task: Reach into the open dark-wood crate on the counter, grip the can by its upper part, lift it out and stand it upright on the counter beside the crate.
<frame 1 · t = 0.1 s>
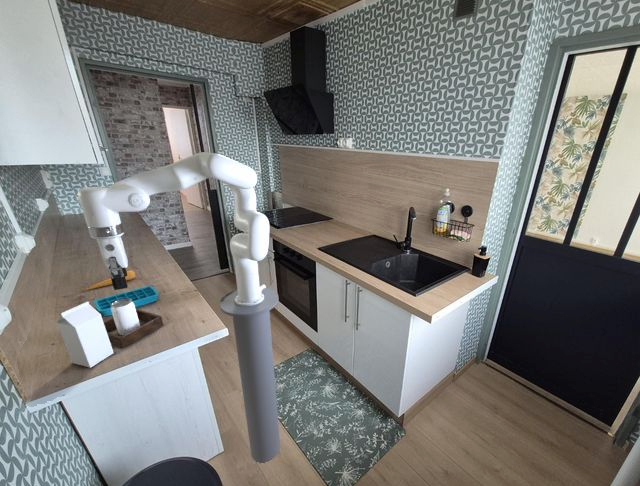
hand: (121, 282, 92), 24 cm above the table, tool pointing down, fingers open, 9 cm apart
carrot: (110, 284, 138), on the table
can: (130, 331, 107), resting in crate
milk carton: (94, 358, 93), on the table
ice cube tray: (129, 304, 123), on the table
crate: (130, 331, 107), on the table
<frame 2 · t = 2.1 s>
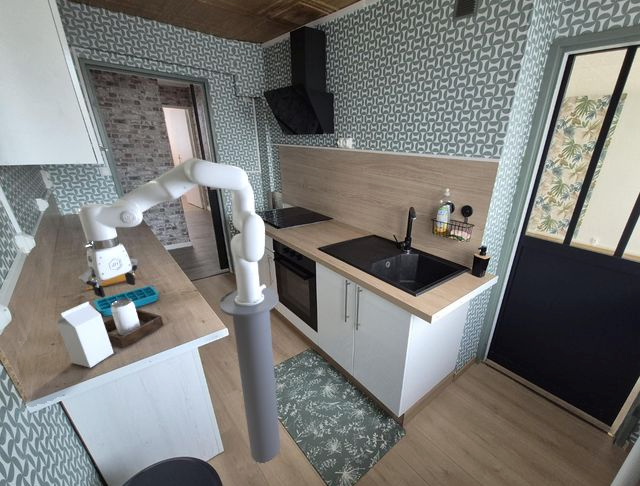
hand: (116, 290, 100), 17 cm above the table, tool pointing down, fingers open, 9 cm apart
nothing on the table moved.
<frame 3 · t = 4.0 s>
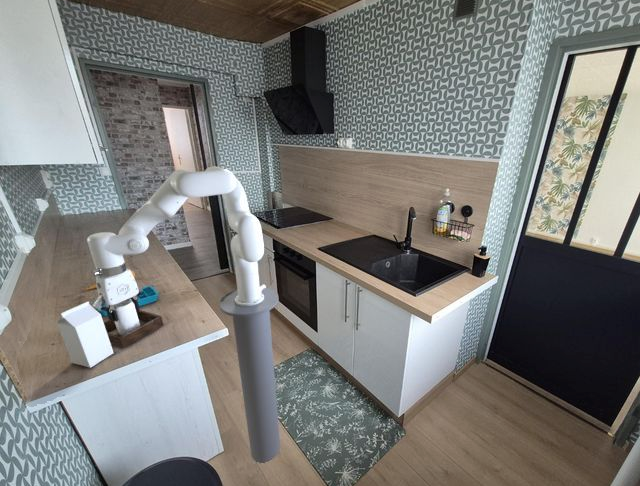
hand: (125, 314, 104), 7 cm above the table, tool pointing down, fingers closed on can, 6 cm apart
can: (130, 331, 107), resting in crate, touching gripper
everything else where it was.
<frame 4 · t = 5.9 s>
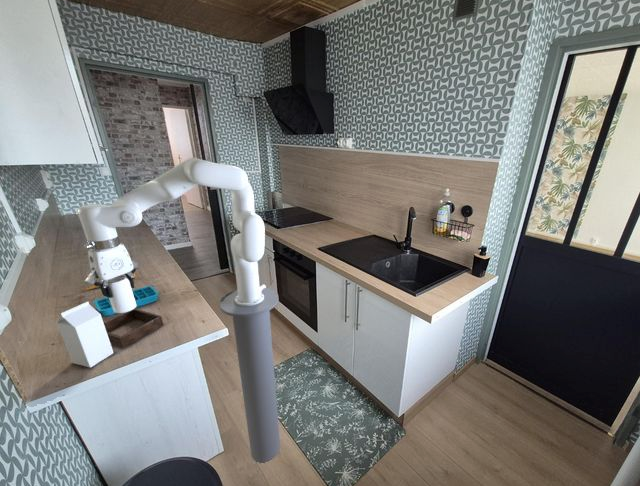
hand: (119, 291, 101), 16 cm above the table, tool pointing down, fingers closed on can, 6 cm apart
can: (125, 309, 104), point 9 cm above the table, touching gripper
everything else where it was.
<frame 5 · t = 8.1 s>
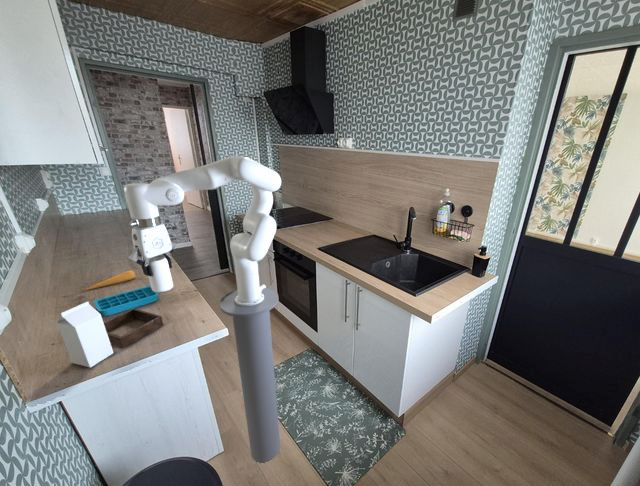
hand: (158, 270, 102), 23 cm above the table, tool pointing down, fingers closed on can, 6 cm apart
can: (163, 289, 105), point 16 cm above the table, touching gripper
everything else where it was.
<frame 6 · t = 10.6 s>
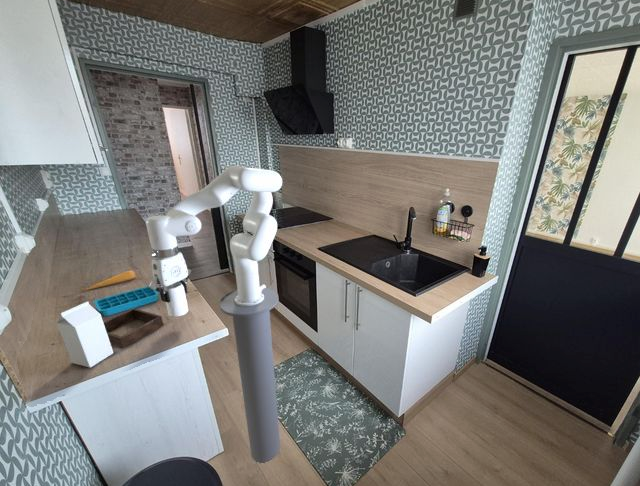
hand: (175, 296, 107), 12 cm above the table, tool pointing down, fingers closed on can, 6 cm apart
can: (178, 313, 110), point 5 cm above the table, touching gripper
everything else where it was.
when the fingers open (7 cm above the table, at t = 12.4 s): can stays where it is, on the table.
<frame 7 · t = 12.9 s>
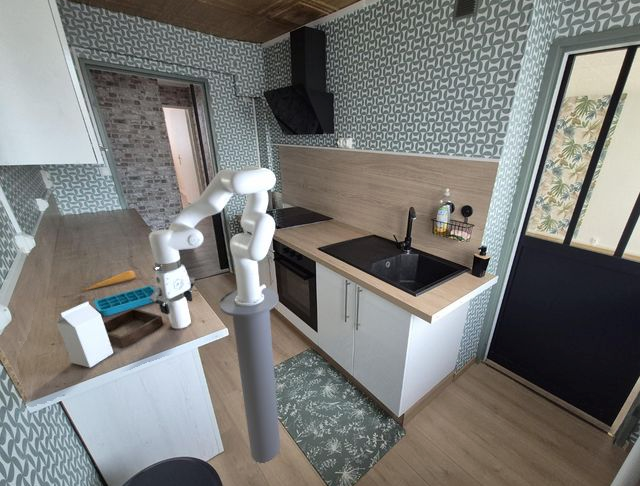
hand: (177, 306, 109), 8 cm above the table, tool pointing down, fingers open, 9 cm apart
can: (181, 324, 112), on the table
everything else where it was.
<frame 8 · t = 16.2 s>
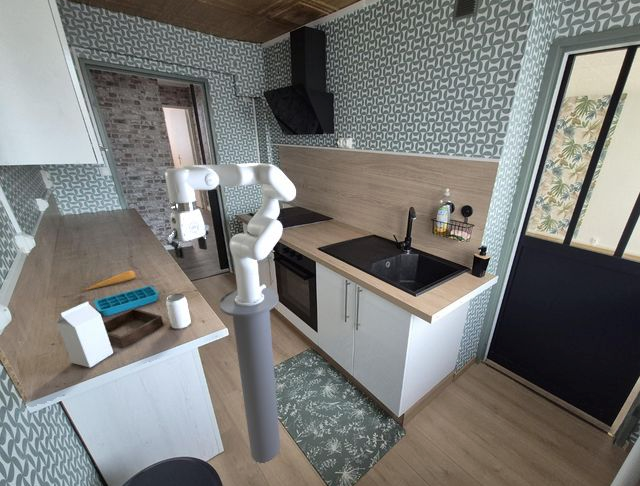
hand: (192, 253, 105), 28 cm above the table, tool pointing down, fingers open, 9 cm apart
nothing on the table moved.
at the end: can inside the target area (0.0 cm from its centre), on the table; can tilted 0°; the gripper is holding nothing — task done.
